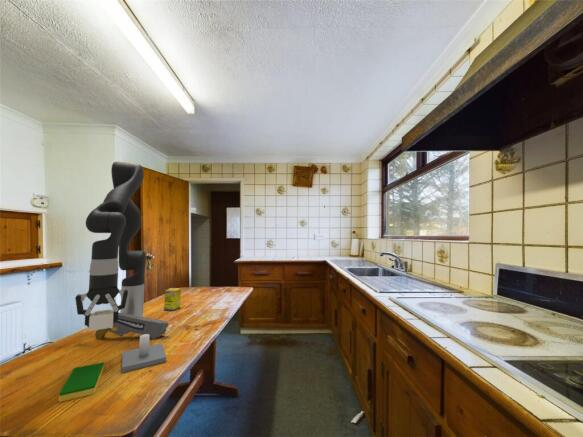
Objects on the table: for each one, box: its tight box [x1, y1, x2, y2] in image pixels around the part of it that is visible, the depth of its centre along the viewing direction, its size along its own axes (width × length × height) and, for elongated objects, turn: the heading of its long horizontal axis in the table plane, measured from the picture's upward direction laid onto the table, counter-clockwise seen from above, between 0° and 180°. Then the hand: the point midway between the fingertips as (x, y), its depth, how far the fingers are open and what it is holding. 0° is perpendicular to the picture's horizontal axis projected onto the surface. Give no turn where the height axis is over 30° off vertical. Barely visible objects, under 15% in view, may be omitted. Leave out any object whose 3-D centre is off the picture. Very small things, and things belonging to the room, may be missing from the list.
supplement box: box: [163, 287, 182, 312], centre depth 137 cm, size 6×6×11 cm
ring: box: [88, 308, 114, 332], centre depth 81 cm, size 6×6×4 cm
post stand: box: [121, 334, 167, 374], centre depth 83 cm, size 12×12×8 cm
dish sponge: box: [58, 361, 105, 403], centre depth 69 cm, size 7×14×2 cm, turn 29°
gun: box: [94, 311, 170, 340], centre depth 100 cm, size 3×25×15 cm, turn 95°
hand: (101, 324), depth 81 cm, fingers closed on ring, 6 cm apart
